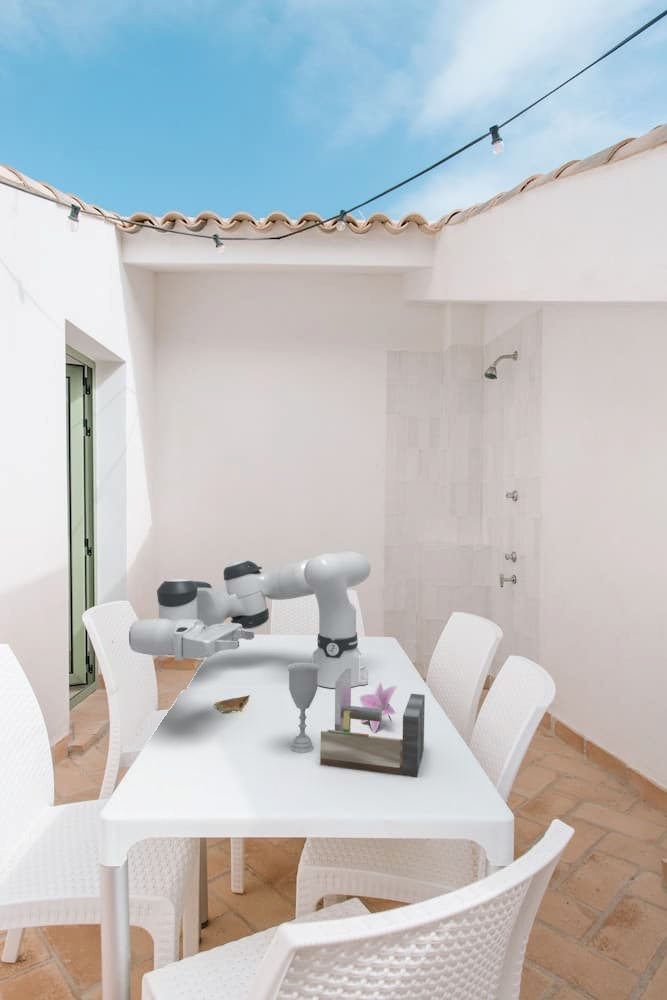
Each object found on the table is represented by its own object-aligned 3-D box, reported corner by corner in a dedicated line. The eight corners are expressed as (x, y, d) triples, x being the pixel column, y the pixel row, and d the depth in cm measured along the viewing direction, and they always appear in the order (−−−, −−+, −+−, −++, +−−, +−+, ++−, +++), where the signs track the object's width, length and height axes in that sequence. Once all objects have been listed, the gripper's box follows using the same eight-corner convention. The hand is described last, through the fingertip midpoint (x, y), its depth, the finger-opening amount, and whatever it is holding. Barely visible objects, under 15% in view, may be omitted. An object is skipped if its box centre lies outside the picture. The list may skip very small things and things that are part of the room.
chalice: (318, 741, 136) (320, 662, 136) (318, 754, 130) (320, 671, 129) (286, 741, 136) (287, 662, 136) (284, 754, 129) (286, 671, 129)
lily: (359, 717, 155) (347, 689, 151) (401, 699, 155) (390, 671, 152) (370, 750, 143) (356, 720, 140) (415, 731, 144) (403, 701, 140)
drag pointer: (344, 753, 126) (345, 710, 126) (350, 754, 125) (350, 711, 125) (342, 756, 124) (343, 712, 124) (348, 756, 124) (349, 713, 124)
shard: (249, 700, 164) (249, 693, 164) (263, 708, 158) (263, 701, 158) (213, 708, 158) (213, 701, 158) (226, 717, 152) (226, 709, 152)
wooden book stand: (336, 738, 138) (337, 686, 138) (423, 748, 133) (424, 694, 133) (320, 765, 124) (321, 707, 124) (416, 777, 120) (417, 717, 119)
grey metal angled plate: (345, 734, 136) (346, 668, 136) (384, 738, 134) (385, 671, 133) (332, 754, 125) (334, 683, 125) (375, 760, 123) (376, 687, 123)
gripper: (210, 641, 154) (261, 642, 151) (171, 662, 134) (228, 665, 131) (210, 616, 154) (261, 617, 151) (170, 634, 134) (228, 636, 131)
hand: (245, 640), depth 140 cm, fingers open, 8 cm apart
